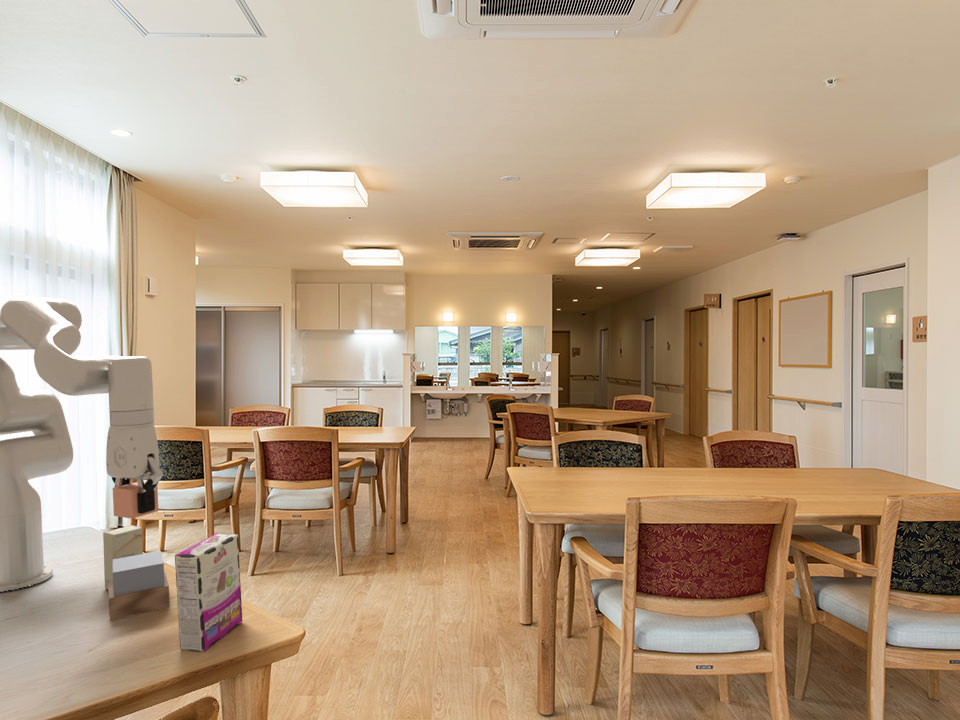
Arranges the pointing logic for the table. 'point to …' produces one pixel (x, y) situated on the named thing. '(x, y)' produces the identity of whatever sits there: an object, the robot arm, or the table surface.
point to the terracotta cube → (129, 501)
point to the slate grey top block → (138, 573)
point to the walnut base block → (138, 601)
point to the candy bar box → (208, 591)
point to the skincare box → (120, 547)
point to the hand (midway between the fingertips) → (136, 509)
